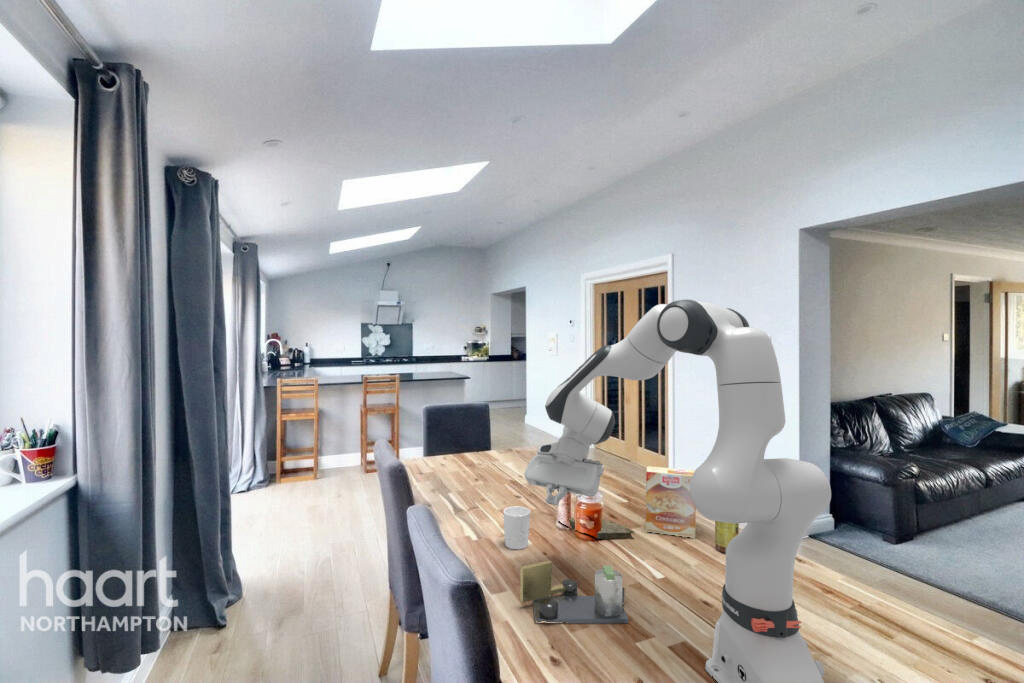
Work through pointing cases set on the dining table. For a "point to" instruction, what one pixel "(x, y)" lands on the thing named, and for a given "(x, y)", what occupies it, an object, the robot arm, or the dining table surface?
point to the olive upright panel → (542, 582)
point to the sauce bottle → (725, 534)
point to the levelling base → (587, 603)
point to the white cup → (516, 527)
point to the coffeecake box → (669, 502)
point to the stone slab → (610, 530)
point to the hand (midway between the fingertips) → (551, 503)
